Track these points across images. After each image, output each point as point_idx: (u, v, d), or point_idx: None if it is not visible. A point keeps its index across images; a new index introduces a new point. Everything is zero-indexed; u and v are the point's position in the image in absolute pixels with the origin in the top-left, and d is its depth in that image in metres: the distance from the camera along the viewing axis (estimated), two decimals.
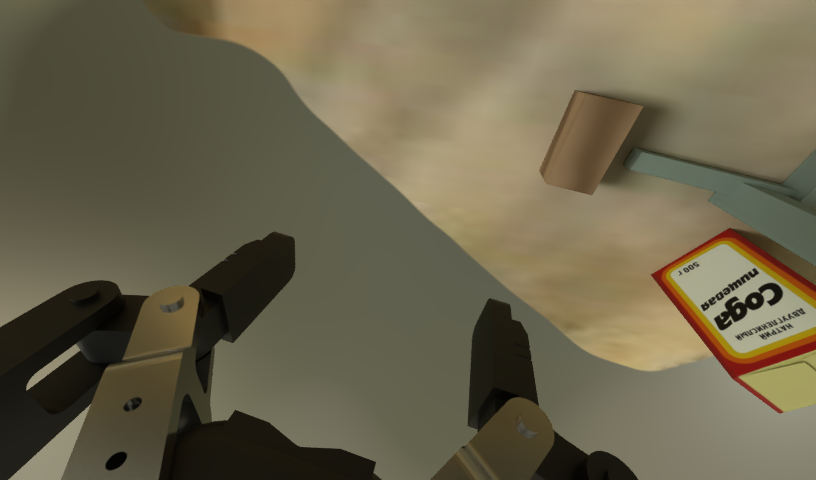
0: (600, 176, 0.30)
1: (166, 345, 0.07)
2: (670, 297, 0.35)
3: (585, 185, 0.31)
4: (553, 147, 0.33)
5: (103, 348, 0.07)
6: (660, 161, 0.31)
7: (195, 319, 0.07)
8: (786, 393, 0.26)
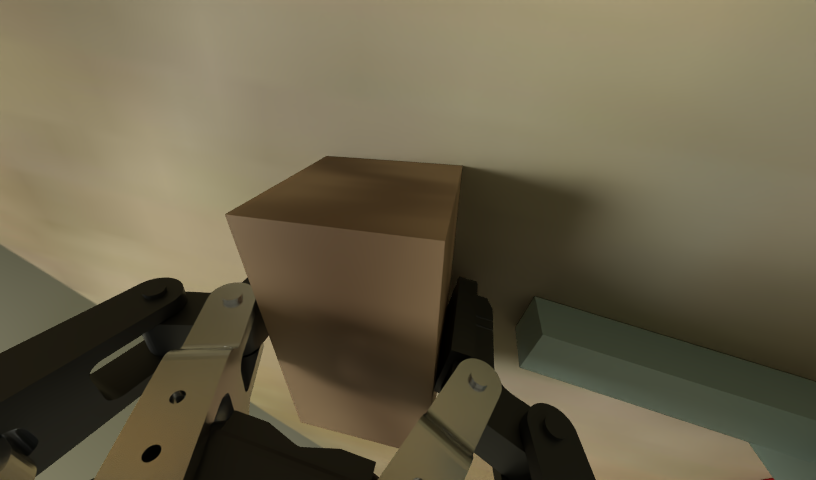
0: None
1: (219, 340, 0.07)
2: None
3: (396, 436, 0.10)
4: None
5: (161, 343, 0.08)
6: (599, 362, 0.10)
7: (248, 318, 0.08)
8: None
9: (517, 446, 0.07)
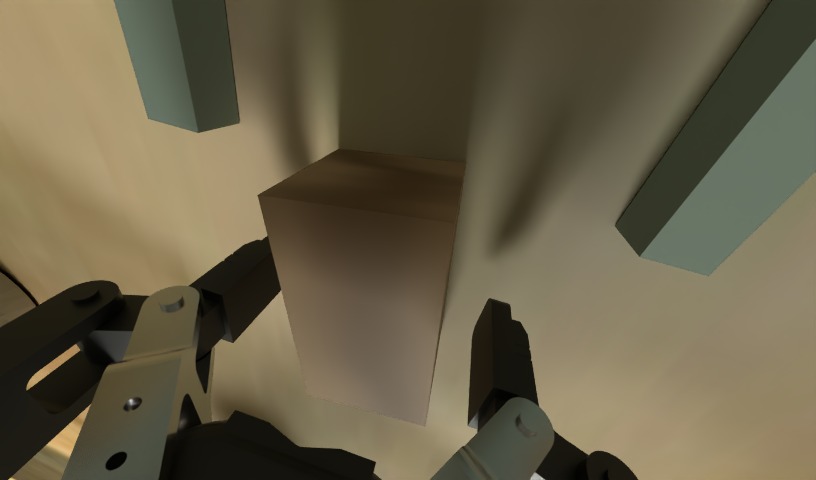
0: (423, 394, 0.10)
1: (166, 345, 0.07)
2: None
3: (397, 407, 0.11)
4: None
5: (103, 348, 0.07)
6: (710, 195, 0.07)
7: (195, 319, 0.07)
8: None
9: None
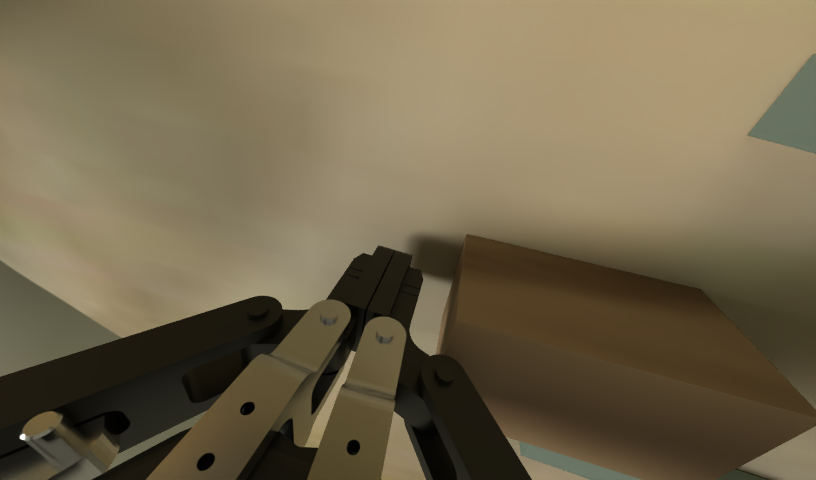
0: None
1: (303, 357, 0.07)
2: None
3: None
4: (553, 278, 0.10)
5: (249, 361, 0.08)
6: None
7: (334, 343, 0.07)
8: None
9: (412, 391, 0.07)
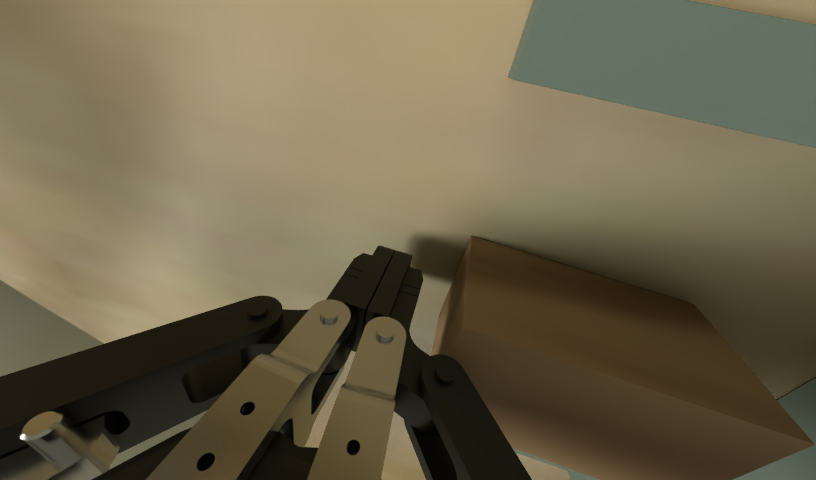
0: None
1: (303, 357, 0.07)
2: None
3: None
4: (557, 288, 0.10)
5: (249, 361, 0.08)
6: None
7: (334, 343, 0.07)
8: None
9: (412, 391, 0.07)
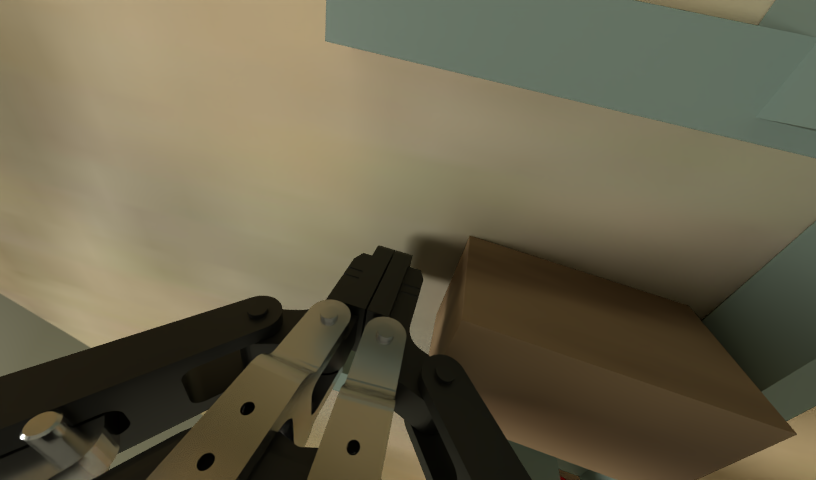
0: None
1: (303, 357, 0.07)
2: None
3: None
4: (553, 284, 0.10)
5: (248, 361, 0.08)
6: None
7: (334, 343, 0.07)
8: None
9: (412, 390, 0.07)
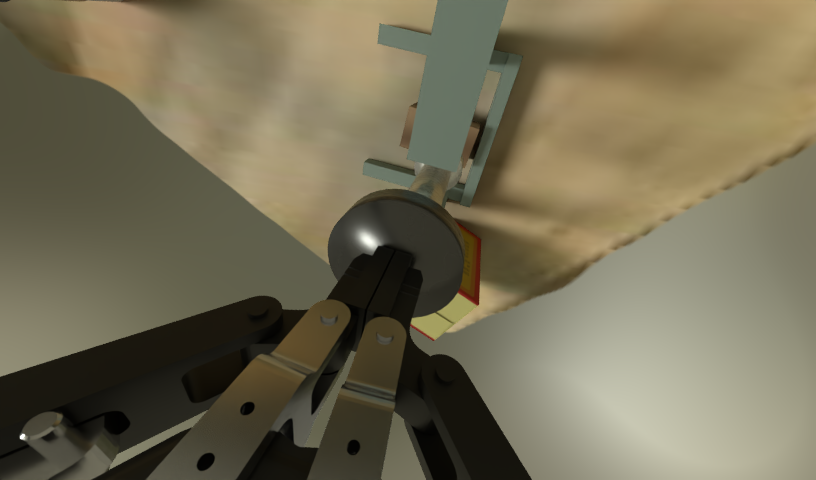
0: None
1: (303, 357, 0.07)
2: None
3: (407, 139, 0.37)
4: None
5: (248, 361, 0.08)
6: (377, 168, 0.43)
7: (334, 343, 0.07)
8: (426, 325, 0.39)
9: (412, 391, 0.07)
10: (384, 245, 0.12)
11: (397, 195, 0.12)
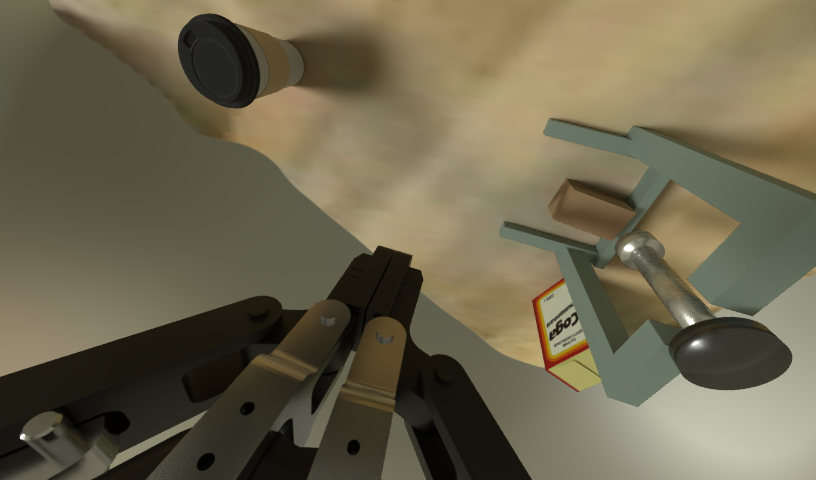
0: (568, 223, 0.42)
1: (303, 357, 0.07)
2: (536, 317, 0.53)
3: (563, 215, 0.42)
4: (589, 189, 0.42)
5: (248, 361, 0.08)
6: (516, 232, 0.48)
7: (334, 343, 0.07)
8: (576, 379, 0.43)
9: (412, 391, 0.07)
10: (736, 353, 0.20)
11: (750, 325, 0.19)
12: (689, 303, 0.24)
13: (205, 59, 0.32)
